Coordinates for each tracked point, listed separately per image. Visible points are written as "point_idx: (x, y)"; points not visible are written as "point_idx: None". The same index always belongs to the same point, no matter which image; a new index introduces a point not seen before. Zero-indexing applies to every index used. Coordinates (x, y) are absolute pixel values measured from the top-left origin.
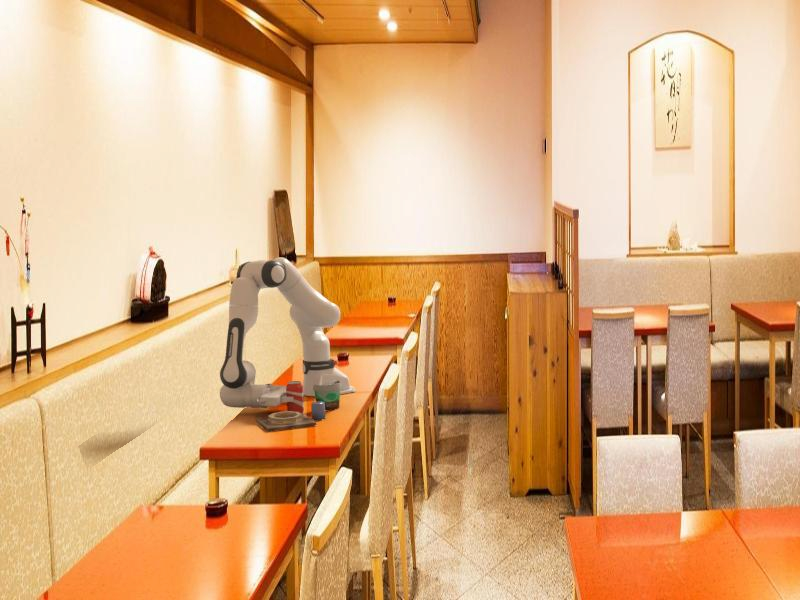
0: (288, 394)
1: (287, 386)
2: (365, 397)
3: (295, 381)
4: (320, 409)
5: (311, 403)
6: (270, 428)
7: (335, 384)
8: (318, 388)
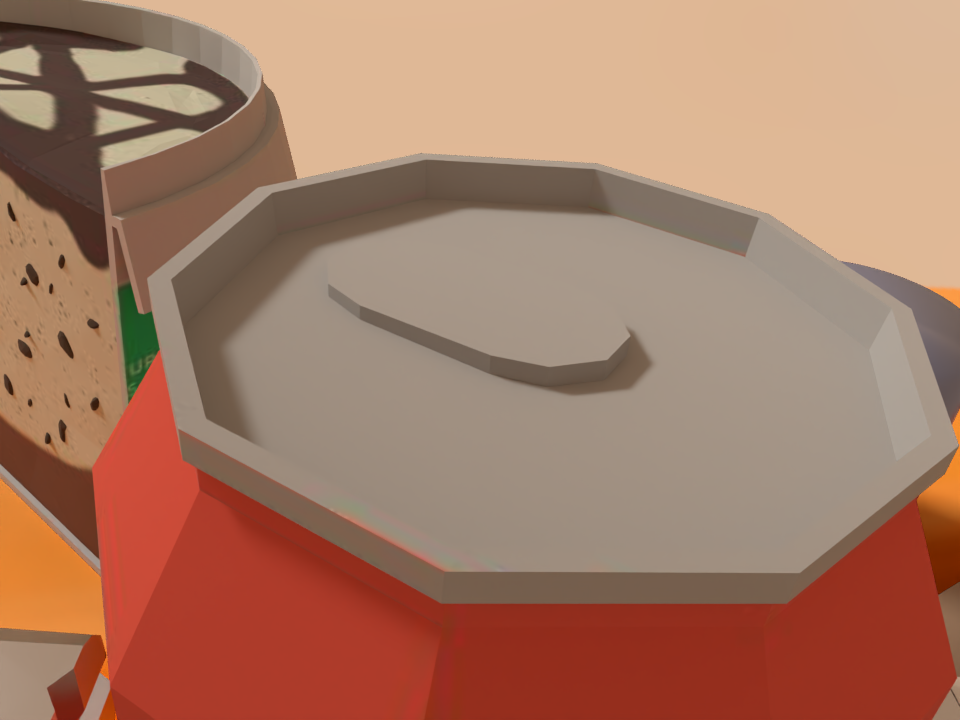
0: None
1: (856, 707)
2: None
3: (176, 302)
4: None
5: (947, 374)
6: None
7: (182, 24)
8: (250, 193)
